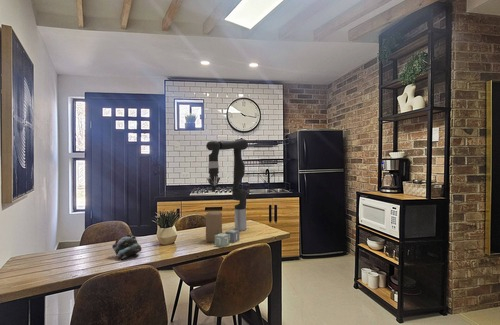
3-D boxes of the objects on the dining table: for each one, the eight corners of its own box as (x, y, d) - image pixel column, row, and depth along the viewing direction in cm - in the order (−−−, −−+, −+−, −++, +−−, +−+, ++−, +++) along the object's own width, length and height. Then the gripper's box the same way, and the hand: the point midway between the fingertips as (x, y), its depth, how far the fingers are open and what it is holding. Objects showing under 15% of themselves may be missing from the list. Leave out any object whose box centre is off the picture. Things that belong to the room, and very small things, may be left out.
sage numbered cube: (221, 243, 203) (221, 232, 203) (229, 244, 199) (229, 234, 199) (214, 245, 197) (214, 235, 197) (222, 247, 193) (222, 236, 193)
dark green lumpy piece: (115, 261, 168) (108, 239, 171) (118, 263, 178) (111, 242, 182) (142, 250, 173) (134, 229, 177) (143, 253, 184) (136, 232, 188)
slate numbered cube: (231, 239, 213) (231, 229, 213) (239, 240, 209) (239, 230, 209) (225, 241, 207) (225, 231, 207) (233, 243, 203) (233, 232, 203)
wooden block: (222, 238, 214) (221, 211, 214) (219, 242, 204) (219, 214, 204) (209, 238, 215) (208, 211, 215) (205, 242, 205) (205, 214, 205)
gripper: (215, 167, 228) (215, 189, 228) (203, 167, 217) (204, 191, 217) (222, 167, 224) (223, 189, 224) (211, 167, 213) (212, 191, 213)
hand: (214, 190), depth 221 cm, fingers closed
